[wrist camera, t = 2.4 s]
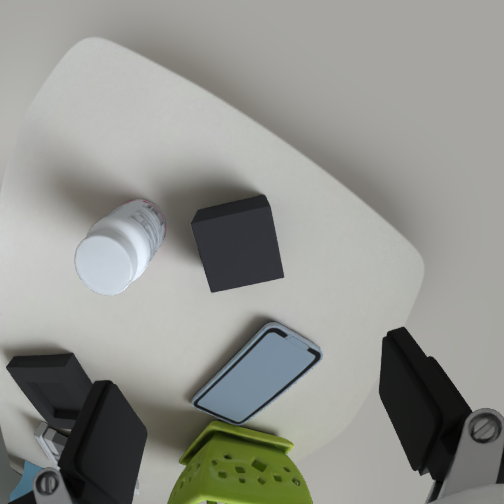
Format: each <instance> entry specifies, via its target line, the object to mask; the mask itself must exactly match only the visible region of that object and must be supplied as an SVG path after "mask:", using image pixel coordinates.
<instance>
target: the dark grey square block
mask: <svg viewBox="0 0 504 504" xmlns="http://www.w3.org/2000/svg"><path fill="white" fill-rule="evenodd" d="M191 226H192V229H193V233H194V236H195V240H196V243H197V247H198V250H199V254H200V257H201V260H202V264H203V267H204V270H205V274H206V277H207V280H208V284H209V287H210V290H211V292H212V293H213V292H218V291H223V290H228V289H233V288H238V287H242V286H247V285H252V284H257V283H261V282H266V281H271V280H275V279H280V278H284V273H283V268H282V263H281V258H280V252H279V247H278V242H277V237H276V232H275V227H274V222H273V217H272V212H271V207H270V204H269V202H268V200H267V198H266V196H265V195H262V196H257V197H252V198H248V199H243V200H239V201H234V202H230V203H225V204H221V205H217V206H212V207H208V208H204V209H200V210H198V211H197V213H196V215H195V217H194V219H193V221H192V222H191Z"/></svg>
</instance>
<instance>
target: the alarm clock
mask: <svg viewBox="0 0 504 504" xmlns="http://www.w3.org/2000/svg"><path fill="white" fill-rule="evenodd" d="M34 436H35V438H36V440H37V441H38V443H39V444H40V446H41V448H42V449H43V451H44V452H45V454H46V455H47V457H48V458H49V460H50V461H51V463H52V464H53V466H54V467H55V468H56V469H57V470H58V471H59V469H60V468H59V467H58V466H57V464H58V461H59V459H60V456H61V454H62V451H63V449H64V447H65V444H66V442H67V440H68V437H65V436H63V435H61V434H59V433H57V432H56V431H55V430H52V429H50V428H49V426H48V424H46V423H44V422H41V424H40V426H39V427H38V429H37V430H36V432H35V434H34ZM138 489H139V483H138V480H137V482H136V486H135V491H134V495H138Z"/></svg>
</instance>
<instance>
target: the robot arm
mask: <svg viewBox="0 0 504 504" xmlns="http://www.w3.org/2000/svg"><path fill="white" fill-rule="evenodd" d="M379 395H380V398H381V400H382V403H383V405H384V407H385V409H386V411H387V413H388V415H389V418H390V420H391V422H392V424H393V426H394V429H395V431H396V433H397V435H398V438H399V440H400V442H401V444H402V447H403V449H404V451H405V454H406V456H407V458H408V461H409V463H410V465H411V467H412V469H413V470H414V471H416V470H418V471H419V474H420V476H422V475H424V474H426V473H430V475H431V477H432V479H433V480H434V482H433V485H432V487H431V490H430V492H429V494H428V497H427V499H426V502H425V504H504V418H503V416H502V415H501V414H500V413H499V412H497V411H496V410H494V409H490V408H482V409H479V410H476V411H474V412H472V410H471V409H470V407H469V406H468V404H467V403H466V402H465V400H464V398H463V397H462V396H461V394H460V393H459V391H458V390H457V388H456V387H455V385H454V384H453V383H452V381H451V380H450V379H449V377H448V376H447V374H446V373H445V372H444V370H443V369H442V367H441V366H440V365H439V363H438V362H437V361H436V360H435V359H434V358H433V357H431V356H429V357H427V356H426V355H425V353H424V352H423V351H422V349H421V348H420V347H419V345H418V344H417V343H416V341H415V340H414V339H413V337H412V336H411V335H410V333H409V332H408V331H407V329H406V328H405V327H400V328H397V329H394V330H391V331H388V332H387V336H386V337H383V340H382V357H381V371H380V384H379ZM146 439H147V430H146V427H145V426H144V425H143V423H142V422H141V420H140V419H139V418H138V416H137V415H136V413H135V412H134V411H133V409H132V408H131V406H130V405H129V403H128V402H127V400H126V399H125V397H124V396H123V394H122V393H121V391H120V390H119V388H118V386H117V385H116V384H113V382H112V381H110V380H101V381H95V382H94V384H93V386H92V388H91V390H90V392H89V394H88V396H87V398H86V400H85V402H84V404H83V406H82V409H81V411H80V413H79V415H78V417H77V419H76V422H75V424H74V426H73V428H72V431H71V433H70V435H69V437H68V440H67V442H66V444H65V447H64V449H63V451H62V454H61V456H60V459H59V461H58V464H57V466H58V467H59V468H60V469H59V471H58V470H57V469H55V468H52V467H47V468H44V469H42V470H40V471H39V472H38V473H37V474H36V475H35V477H34V479H33V483H32V486H33V490H32V491H30V492H28V493H26V494H25V495H23V496H21V497H19V498H17V499H15V500H13V501H11V502H9V503H8V504H132V500H133V496H134V491H135V486H136V482H137V477H138V473H139V468H140V464H141V460H142V455H143V451H144V447H145V443H146Z"/></svg>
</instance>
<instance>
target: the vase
mask: <svg viewBox="0 0 504 504" xmlns="http://www.w3.org/2000/svg"><path fill="white" fill-rule="evenodd" d="M40 470H42V468H40V467H38V466H36V465H34V464H31V463H29V462H27V461H25V465H24V472H23V476H22V479H21V481H20V483H19V484H18V486H17V487H16V488H15V490H14V491H13V492H12V493H11V495H10V502H11V501H13V500H15V499H17V498H19V497H21V496H23V495H25V494H26V493H28V492H30V491H32V490H33V486H32V483H33V479H34V477H35V475H36V474H37V473H38V472H39V471H40Z"/></svg>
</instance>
